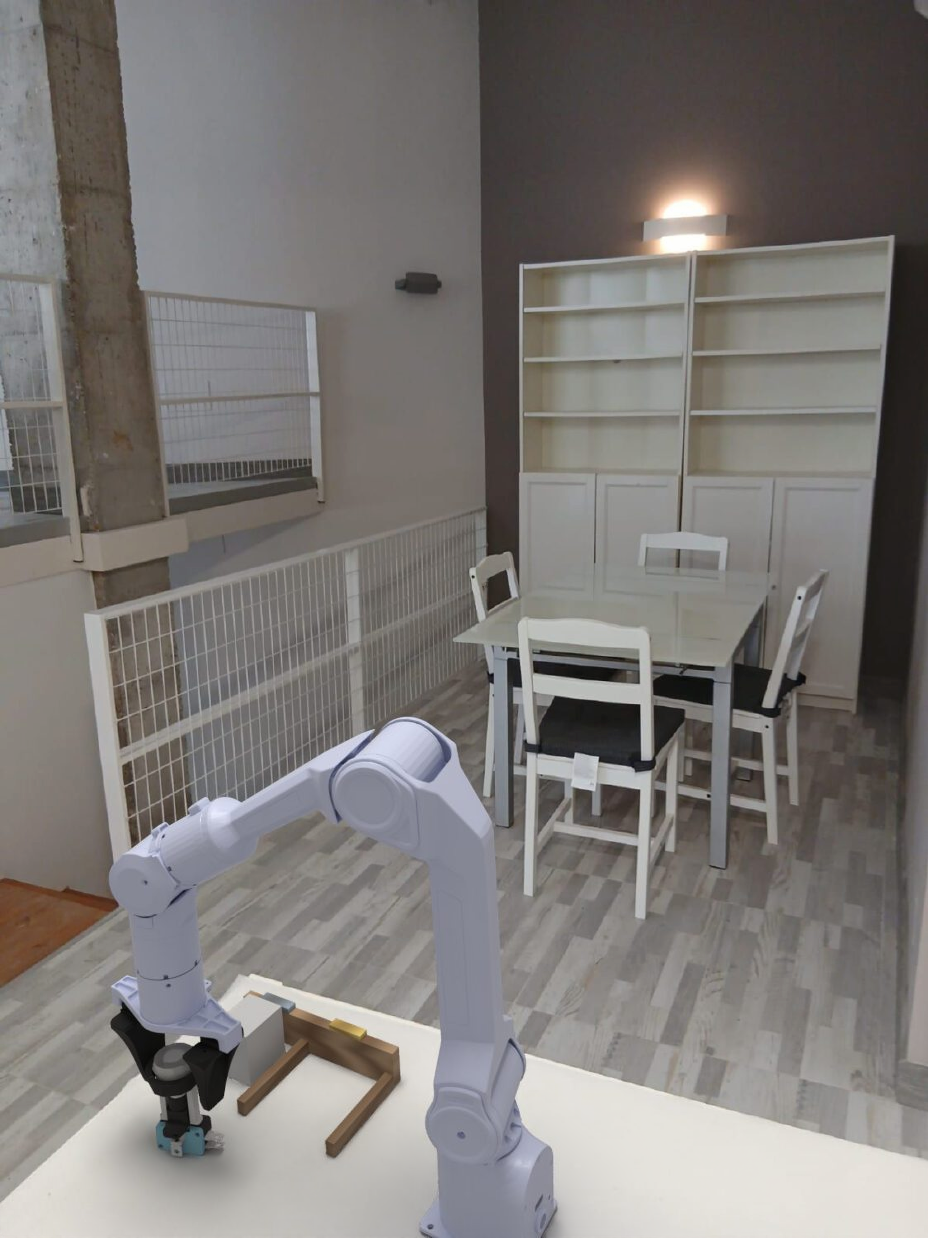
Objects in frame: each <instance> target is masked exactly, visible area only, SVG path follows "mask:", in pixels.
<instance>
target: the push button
mask: <svg viewBox="0 0 928 1238" xmlns="http://www.w3.org/2000/svg"><path fill="white" fill-rule="evenodd" d="M165 1045H166V1046H165V1047H163V1048H162V1049H160V1050H159V1051H158V1052H157V1053H156V1055H155V1056H153V1057H152V1058H151V1059H150V1061H149V1062H148V1063H147V1065H146V1068H145V1078H146V1080H147V1082H146V1083H148V1085H149V1087H150V1088H151V1091H152V1092H153V1095H156V1096H159V1103H160V1111H161V1113H160V1114H159V1118H160V1119H159V1121H158V1122H157V1124H156V1125H155V1128H154V1129H155V1134H156V1145H157V1148H158V1149H159V1150H163V1151H170V1152H171V1155H172V1156H173V1157H180V1158H182V1157H183V1153H184V1154H191V1155H196V1156H202V1155H203V1154H204V1152H205V1151H206V1149H208V1150H209V1149H210V1150H211V1148H212V1149H218V1150H222V1149H223V1147H224V1146H225V1144H226V1142H225V1141H222V1140H223V1138H224V1136H225V1134H224V1133H219V1132H215V1130H212V1128H213V1125H212V1118H211V1116H210V1115H208V1114H201V1110H200V1099H199V1094H198V1089H197V1084H196V1081H195V1078H194V1075H193V1073H192V1071H191V1069H190V1068H189V1066H188V1065H187V1063H186V1062H185V1061H184V1060H183V1057H182V1056H183V1054H185V1053H186V1052H187V1051H188V1050H189V1049H191V1048H192V1047H193V1046H194V1045H191V1044H189V1043H186V1042H173V1043H170V1044H165ZM217 1136H219V1137H217ZM219 1144H220V1145H219Z"/></svg>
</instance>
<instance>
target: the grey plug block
mask: <svg viewBox="0 0 928 1238" xmlns="http://www.w3.org/2000/svg"><path fill="white" fill-rule="evenodd" d="M226 1012H227V1013H228V1014H229V1015H230V1016H231V1017H233V1018H234V1019H236V1020H238V1021H240V1022H241V1026H242V1027H243V1029H244V1037H243V1040H242V1041H241V1042H240V1044H239V1046H238V1048H237V1050H236V1052H235V1054H234V1057H233V1060H232V1062H231V1065H230V1069H229V1073H228V1077H227V1078H230V1079H232V1080H235V1081H237V1082H238V1083H241V1084H243V1085H245V1086H247V1087H250V1086H251V1085H252V1084H253V1083H254V1082H256V1081H257V1080H258V1079H259V1078H260V1077H261V1076H262V1075H263V1074H264V1073H265V1072H266V1071H267V1070H268V1069H269V1068H270V1067H271V1066H272V1065H273V1064H274V1063H276V1062H277V1061H278V1060H279V1059H280V1058H281V1057H282V1056H283V1055H284V1054H285V1053H286V1052H287V1051H286V1043H285V1040H284V1029H283V1017H282V1006H280V1005H277V1004H275V1003H272V1002H270V1001H267V1000H264V999H262V998H259V997H257V996H254V995H251V994H249V995H247V996H246V997H245V998H243V999H241V1000H240V1001H239V1002H238V1003H237V1004H235V1005H234V1006H233V1007H231V1008H230V1009H229V1010H228V1011H226Z"/></svg>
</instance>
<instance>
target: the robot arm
mask: <svg viewBox="0 0 928 1238" xmlns="http://www.w3.org/2000/svg"><path fill="white" fill-rule="evenodd" d="M375 731H376V729H375V728H373V729H370V730H367V731H365V732H362V733H359V734H357V735H356V736H353V737H351V738H350V739H348V740H346V741H343V742H341V743H339V744H338V745H336V746H334V747H331V748H330V749H328V750H326V751H324V752H322V753H321V754H319V755H317V756H315V757H314V758H312V759H311V760H309V761H307V762H306V763H304V764H302V765H301V766H299V767H297V768H296V769H294V770H293V771H291V772H289V773H287V774H285V775H284V776H283V777H281V778H279V779H278V780H277V781H275V782H273V783H271V784H269V785H268V786H266V787H265V788H263V789H261V790H260V791H258V792H257V793H255V794H253V795H251V796H250V797H248V798H247V799H245V800H243V801H242V802H241V801H239V800H237V799H236V798H234V797H229V796H222V797H218V798H216V799H213V800H211V801H210V799H209V798H208V796H205V797H202V798H200V799H199V800H197V801H196V802H195V803H193V804H192V805H191V806H190V807H188V808H187V812H188V813H189V814H187V815H186V816H184V817H182V818H180V819H179V820H177V821H175V822H173V823H172V824H169V823H168V822H167V821H164V822H163V823H161V824H159V825H157V826H156V827H154V828H153V829H152V830H151V831H150V834H149V835H148V836H146V837H145V838H144V839H142V840H141V841H140V842H138V843H137V844H136V845H134V846H133V847H132V848H130V849H129V850H128V851H126V852H124V853H122V854H121V855H120V857H119V858H118V859H117V860H116V861H115V862H114V863H113V864H112V866H111V868H110V870H109V873H108V885H109V889H110V893H111V894H112V896H113V898H114V899H115V901H116V902H117V904H119V905H120V907H122V908H123V909H124V910H125V911H126V912H127V914H128V915H127V916H128V922H129V930H130V937H131V938H130V939H131V945H132V946H131V947H132V952H133V953H132V955H133V961H134V969H135V977H134V976H130V975H128V974H127V975H125V976H123V977H122V978H121V979H119V980H118V981H116V982H115V983H114V984H112V985H110V991H111V999H112V1000H111V1001H112V1004H113V1005H115V1006H117V1007H121V1008H120V1010H119V1011H120V1012H118V1013H117V1014H116V1015H114V1016H113V1017H112V1019H111V1020H110V1022H109V1023H110V1028H111V1030H113V1032H115V1033H116V1034H117V1036H119V1038H120V1039H121V1040H122V1041H123V1043H124V1044H125V1046H126V1047H127V1049H128V1051H129V1053H130V1054H131V1057H132V1058H133V1060H134V1063H135V1065H136V1067H137V1069H138V1071H139V1073H140V1075H141V1077H142V1079H143V1081H145V1082H146V1083H148V1082H147V1080H146V1078H145V1068H146V1065H147V1063H148V1062H149V1061H150V1059H151V1058H152V1057H153V1056H155V1055H156V1053H157V1052H158V1051H159V1050H160V1049H162V1048H163V1047H165V1046H166V1045H167V1044H166V1034H169V1035H178V1036H179V1035H180V1036H188V1037H199V1040H200V1041H198V1042H197V1043H195V1044H194V1045H192V1046H193V1047H192V1048H191V1049H189V1050H188V1051H187V1052H186V1053H185V1054H183V1056H182V1057H183V1060H184V1061H185V1062H186V1063H187V1065H188V1066H189V1068H190V1069H191V1071H192V1073H193V1075H194V1078H195V1081H196V1084H197V1091H198V1100H199V1104H200V1105H201V1108H202V1110H204V1111H207V1112H211V1111H212V1110H213V1109H214V1108H215V1107H216V1106H217V1105H218V1104H220V1102H221V1101H222V1100H224V1098H225V1094H226V1086H227V1083H228V1082H227V1081H228V1078H229V1077H228V1073H229V1069H230V1065H231V1062H232V1060H233V1057H234V1054H235V1052H236V1050H237V1048H238V1046H239V1044H240V1042H241V1041H242V1040H243V1037H244V1029H243V1027H242V1026H241V1022H240V1021H238V1020H236V1019H234V1018H233V1017H231V1016H230V1015H229V1014H228V1013H227V1012H228V1011H226V1010H225V1009H224V1008H223V1007H222V1005H220V1004H219V1002H217V1000H216V999H215V998H214V997H213V996H212V995H211V994H210V992H211V991H212V990H213V985H212V983H213V982H212V981H210V980H209V979H206V978H205V974H204V965H203V956H202V947H201V939H200V929H199V918H198V910H197V909H198V908H197V902H196V901H197V898H196V897H198V895H199V890H198V886H200V885H202V884H204V883H206V882H208V881H209V880H212V879H213V878H215V877H217V876H219V875H221V874H223V873H225V872H227V871H229V870H231V869H233V868H234V867H235V868H236V866H238V865H240V864H242V863H244V862H246V861H248V860H250V859H251V858H252V857H253V856H254V854H255V852H256V851H257V849H258V848H257V847H258V844H259V841H260V840H259V839H260V837H263V836H265V835H266V834H268V833H269V834H270V833H271V832H273V831H275V830H277V829H279V828H281V827H284V826H285V825H288V824H290V823H292V822H294V821H296V820H299V819H301V818H303V817H305V816H307V815H310V814H312V813H314V812H316V811H319V812H320V813H321V814H322V815H323V816H324V818H326V819H327V820H328V822H330V823H331V824H333V825H335V826H336V825H339V824H340V823H341V822H342V821H344V822H345V824H347V825H348V826H349V827H350V828H351V829H353V830H354V831H356V832H358V833H360V834H361V835H364V836H365V837H368V838H370V839H372V840H374V841H376V842H379V843H382V844H383V845H386V846H387V847H390V848H392V849H395V850H397V851H399V852H402V853H403V854H406V855H408V856H410V857H413V858H415V859H417V860H419V861H424V862H425V863H426V864H427V865H428V873H429V874H428V877H429V888H430V902H431V903H430V904H431V916H432V929H433V944H434V945H433V946H434V957H435V958H434V959H435V973H436V985H437V1001H438V1013H439V1014H438V1015H439V1026H440V1027H439V1028H440V1043H439V1044H440V1045H439V1051H438V1057H437V1061H436V1067H435V1072H434V1077H433V1081H432V1084H433V1098H432V1102H431V1104H430V1105H429V1107H428V1109H427V1110H426V1114H425V1117H424V1118H425V1119H424V1127H425V1132H426V1134H427V1137H428V1139H429V1141H430V1143H431V1145H433V1148H435V1149H436V1159H437V1163H436V1164H437V1184H438V1188H437V1189H438V1195H437V1198H436V1199H435V1200H434V1202H433V1203H432V1204H431V1206H430V1207H429V1209H428V1211H427V1212H425V1213H426V1214H425V1215H424V1216H423V1218H422V1219H421V1221H420V1223H419V1230H420V1232H421V1233H423V1234H425V1235H426V1236H427V1235H428V1236H429V1237H431V1238H541V1237H542V1236H543V1233H544V1232H545V1230H546V1228H547V1227H548V1224H549V1223H550V1220H551V1219H552V1217H553V1215H554V1213H555V1211H556V1209H557V1208H558V1200H557V1199H555V1197H554V1195H555V1193H554V1188H555V1187H554V1185H555V1183H554V1151H553V1149H552V1147H551V1146H550V1145H548V1144H547V1143H546V1142H544V1141H543V1140H540V1139H539V1138H538V1137H536V1136H535V1135H534V1134H533V1133H532V1132H530V1131H529V1129H528V1128H527V1127H526V1126H525V1125H524V1124H523V1121H522V1116H521V1112H520V1108H519V1106H518V1103H517V1100H516V1096H517V1093H518V1090H519V1087H520V1084H521V1082H522V1080H523V1079H524V1076H525V1074H526V1071H527V1058H526V1054H525V1052H524V1049H523V1047H522V1046H521V1044H520V1043H519V1040H518V1039H517V1037H516V1032H515V1027H514V1019H513V1018H512V1016H509V1015H506V1014H505V1013H504V1000H503V999H504V997H503V980H502V978H503V977H502V961H501V959H502V957H501V942H500V941H501V940H500V939H501V938H500V920H499V906H498V905H499V904H498V903H499V902H498V901H499V900H498V886H497V884H498V883H497V867H496V862H497V861H496V846H495V830H494V826H493V821H492V819H491V817H490V815H489V814H488V811H487V810H486V808H485V807H484V805H483V803H482V802H481V799H480V798H479V796H478V795H477V793H476V791H475V789H474V788H473V786H472V784H471V782H470V781H469V779H468V777H467V775H466V774H465V772H464V770H463V768H462V766H461V764H460V758H459V752H458V748H457V744H456V743H455V742H454V741H453V740H451V739H450V738H449V737H447V735H445V734H444V733H442V732H441V731H440V730H438V729H437V728H436V727H434V726H433V725H432V724H430V723H428V721H426V720H423V719H420V718H418V717H413V716H401V717H398V718H394V719H392V720H390V721H388V722H387V723H386V724H384V725H383V727H381V729H380V730H379V731H378V733H377V735H376V736H375V737H374V738H373V739H372V736H373V734H374V732H375ZM371 739H372V740H371Z"/></svg>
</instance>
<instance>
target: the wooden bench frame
mask: <svg viewBox="0 0 928 1238" xmlns="http://www.w3.org/2000/svg"><path fill="white" fill-rule="evenodd" d="M249 994H251V995H254V996H257V997H259V998H262V999H264V1000H267V1001H270V1002H272V1003H275V1004H277V1005H280V1006H282V1017H283V1029H284V1040H285V1045H290V1046H291V1047H290V1048H288V1050H287V1051H286V1053H285V1054H284V1055H283V1056H282V1057H281V1058H280V1059H279V1060H278V1061H277V1062H276V1063H274V1064H273V1065H272V1066H271V1067H270V1068H269V1069H268V1070H267V1071H266V1072H265V1073H264V1074H263V1075H262V1076H261V1077H260V1078H259V1079H258V1080H257V1081H256V1082H254V1083H253V1084H252V1085H251V1086H248V1088H247V1089H246V1090H245V1091H244V1092H242V1094H241V1095H240V1096H239V1097H238V1098H237V1099H236V1106H237V1107H236V1109H237V1113H239V1114H241V1115H243V1116H247V1115H248V1114H249V1113H250V1112H251V1111H252V1110H253V1109H254V1108H255V1107H257V1105H258V1104H259V1103H260V1102H261V1101H263V1099H264V1098H265V1097H266V1096H267V1095H269V1093H270V1092H271V1091H272V1090H273V1089H274V1088H275V1087H277V1086H278V1084H279V1083H280V1082H282V1081H283V1079H285V1077H287V1075H289V1074H290V1073H291V1072H292V1071H293V1070H294V1068H296V1067H297V1066H298V1065H299V1064H300V1063H301V1062H302V1061H303V1060H304V1059H306V1057H307V1056H309V1054H311V1055H314V1056H316V1057H318V1058H320V1059H323V1060H326V1061H328V1062H331V1063H333V1064H336V1065H338V1066H340V1067H342V1068H345V1069H347V1070H351V1071H353V1072H356V1073H357V1074H360V1075H363V1076H365V1077H367V1078H369V1079H373V1080H375V1081H376V1082H375V1083H374V1084H373V1085H372V1086H371V1088H370V1089H369V1090H368V1091H367V1092H366V1093H365V1094H364V1096H363V1097H362V1098H361V1099H360V1100H359V1101H358V1102H357V1104H355V1106H354V1107H353V1108H352V1109H351V1110H350V1112H349V1113H348V1114H347V1115H346V1116H345V1117H344V1118H343V1120H342V1121H340V1123H339V1124H338V1125H337V1126H336V1127H335V1128H334V1130H333V1131H332V1132H331V1133H330V1134H329V1135H328V1136H327V1137H326V1138H325V1140H324V1142H325V1154H326V1155H328V1156H330V1157H333V1158H336V1157H337V1156H338V1155H339V1153H340V1152H341V1151H342V1150H343V1149H344V1148H345V1147H346V1145H347V1144H348V1143H349V1142H350V1141H351V1140H352V1138H353V1137H354V1136H355V1134H356V1133H357V1132H359V1130H360V1129H361V1128H362V1127H363V1125H364V1124H365V1123H366V1122H367V1120H369V1118H370V1117H371V1115H373V1113H374V1112H375V1111H376V1110H377V1109H378V1108H379V1106H380V1105H381V1104H382V1103H383V1102H384V1100H385V1099H386V1098H387V1097H388V1096H389V1094H391V1092H392V1091H393V1090H394V1088H396V1086H398V1084H399V1083H400V1082H401V1079H402V1078H401V1059H400V1046H399V1045H395V1044H392V1043H390V1042H387V1041H385V1040H382V1039H381V1038H376V1037H374V1036H372V1035H369V1034H368V1031H367V1029H366V1028H363V1027H361V1026H358V1025H355V1024H353V1023H350V1022H347V1021H345V1020H343V1019H339V1018H338V1017H337V1018H336V1017H335V1018H334V1019H333V1020H330V1019H327V1018H324V1017H322V1016H319V1015H316V1014H314V1013H312V1012H309V1011H307V1010H303V1009H301V1008H299V1007H297V1005H296V1004H297V1003H296V1002H294V1001H292V1000H289V999H287V998H284V997H281V996H279V995H276V994H273V993H270V992H268V991H267V992H266V993H264V994H262V993H259V992H256V991H254V990H249V991H248V992H247V993H246V994H244V995H243V999H244V998H245V997H246V996H247V995H249Z"/></svg>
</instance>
